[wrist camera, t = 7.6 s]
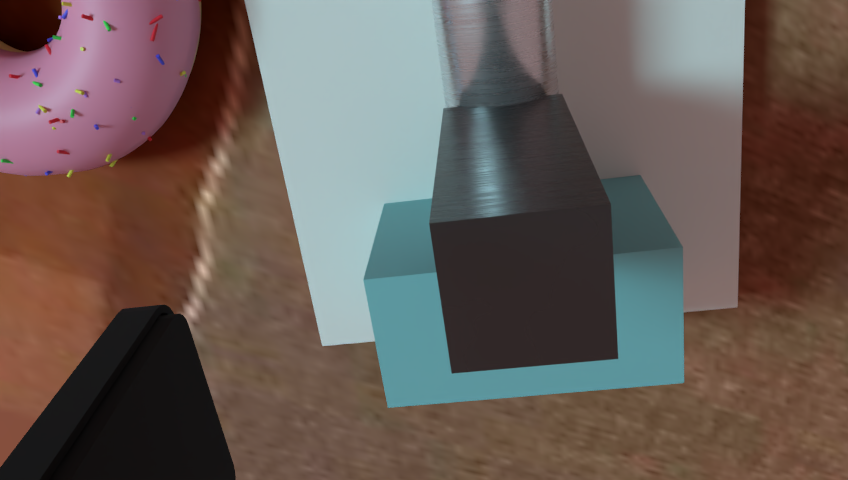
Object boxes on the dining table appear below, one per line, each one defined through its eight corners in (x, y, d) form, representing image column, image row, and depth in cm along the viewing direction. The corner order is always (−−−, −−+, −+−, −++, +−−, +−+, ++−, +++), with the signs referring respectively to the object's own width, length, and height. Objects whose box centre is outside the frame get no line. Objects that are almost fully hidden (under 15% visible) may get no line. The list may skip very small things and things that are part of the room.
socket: (384, 203, 25) (363, 279, 20) (640, 174, 24) (682, 246, 19) (403, 312, 26) (388, 407, 22) (643, 289, 26) (683, 382, 21)
